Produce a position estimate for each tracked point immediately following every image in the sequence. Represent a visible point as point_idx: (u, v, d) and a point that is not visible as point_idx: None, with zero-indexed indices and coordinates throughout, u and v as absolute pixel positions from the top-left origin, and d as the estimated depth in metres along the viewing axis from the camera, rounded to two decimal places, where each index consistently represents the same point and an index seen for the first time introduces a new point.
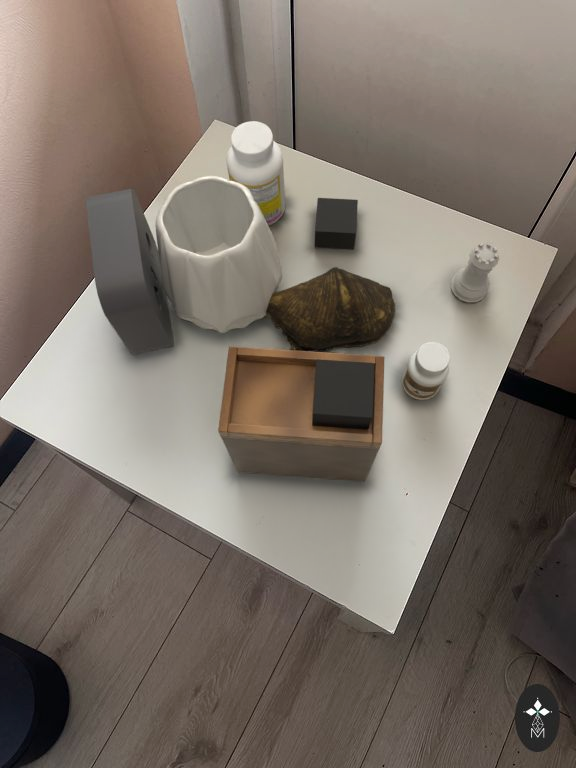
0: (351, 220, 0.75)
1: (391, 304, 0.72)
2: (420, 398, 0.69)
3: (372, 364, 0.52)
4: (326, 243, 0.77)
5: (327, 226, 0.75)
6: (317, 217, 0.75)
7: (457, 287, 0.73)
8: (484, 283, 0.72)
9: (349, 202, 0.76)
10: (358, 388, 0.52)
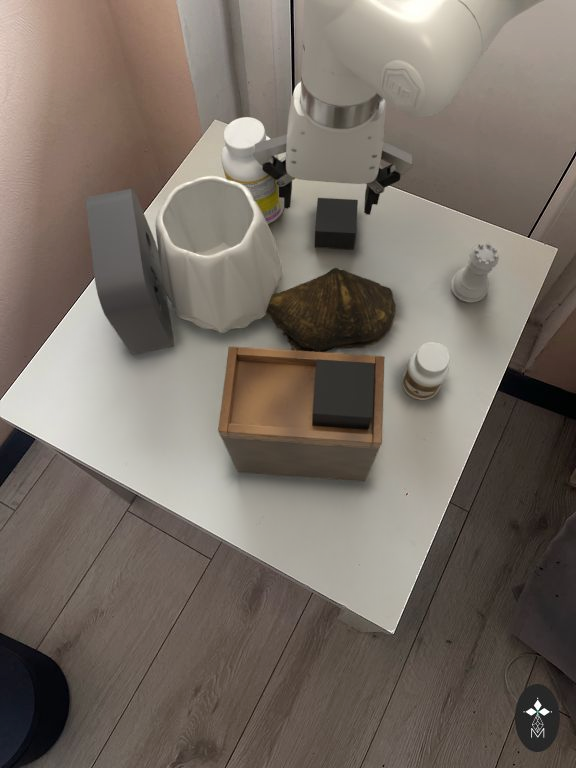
0: (351, 220, 0.75)
1: (392, 305, 0.72)
2: (420, 398, 0.69)
3: (372, 364, 0.52)
4: (326, 243, 0.77)
5: (327, 226, 0.75)
6: (317, 217, 0.75)
7: (457, 287, 0.73)
8: (484, 283, 0.72)
9: (349, 202, 0.76)
10: (358, 388, 0.52)
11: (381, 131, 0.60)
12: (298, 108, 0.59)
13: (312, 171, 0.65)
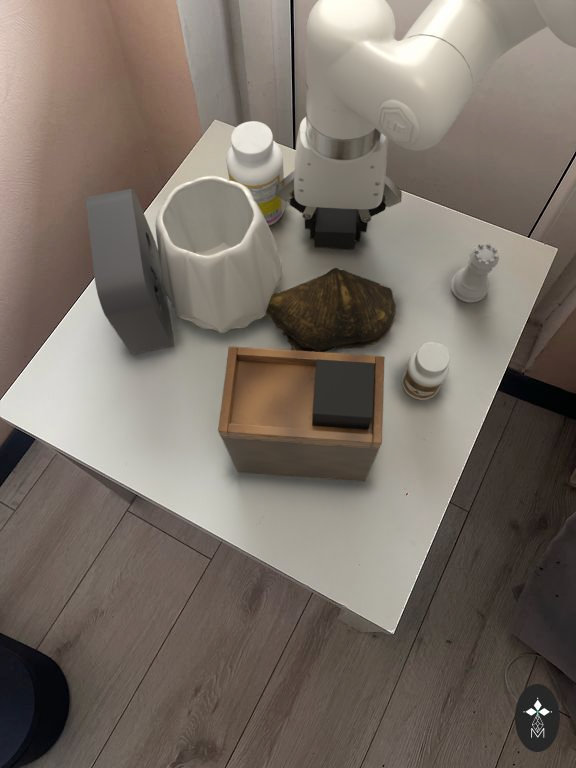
0: (351, 220, 0.75)
1: (392, 305, 0.72)
2: (420, 398, 0.69)
3: (372, 364, 0.52)
4: (326, 243, 0.77)
5: (327, 226, 0.75)
6: (317, 217, 0.75)
7: (457, 287, 0.73)
8: (484, 283, 0.72)
9: None
10: (358, 388, 0.52)
11: (383, 161, 0.63)
12: (304, 141, 0.62)
13: (319, 198, 0.69)
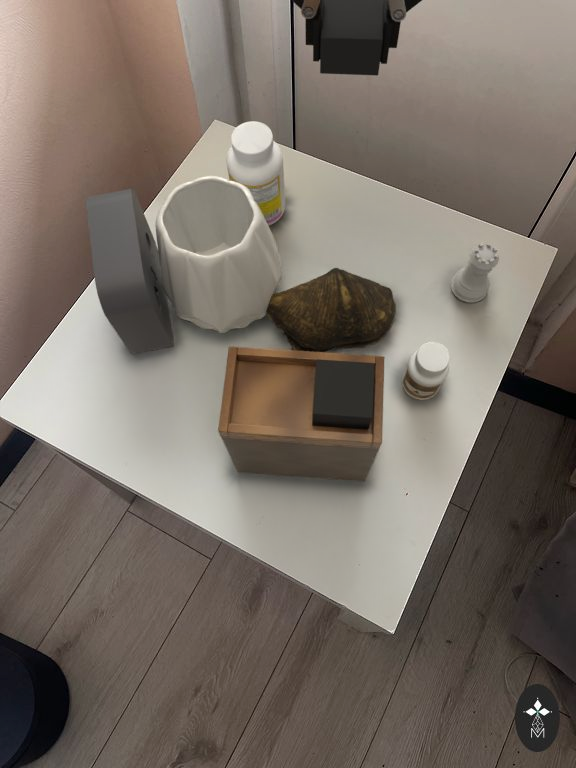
0: (375, 23, 0.50)
1: (392, 305, 0.72)
2: (420, 398, 0.69)
3: (372, 364, 0.52)
4: (336, 64, 0.52)
5: (339, 31, 0.50)
6: (324, 20, 0.50)
7: (457, 287, 0.73)
8: (484, 283, 0.72)
9: (372, 0, 0.51)
10: (358, 388, 0.52)
11: None
12: None
13: None
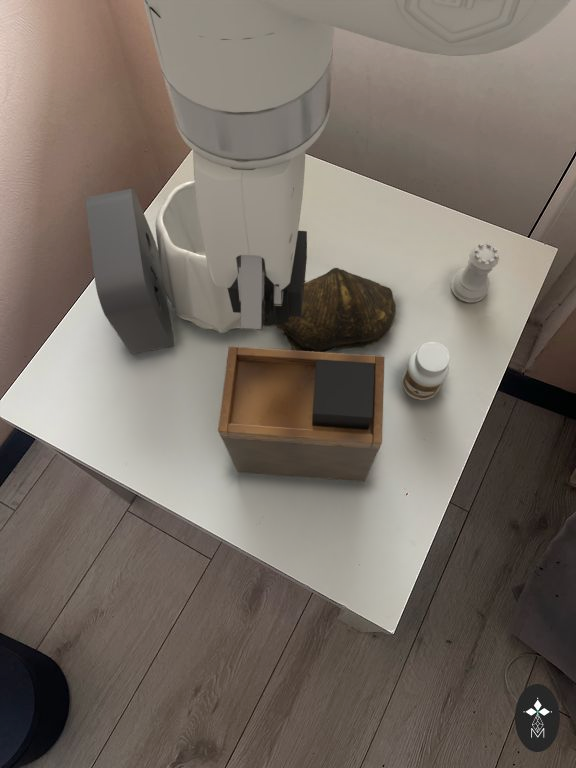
0: None
1: (392, 305, 0.72)
2: (420, 398, 0.69)
3: (372, 364, 0.52)
4: None
5: None
6: None
7: (457, 287, 0.73)
8: (484, 283, 0.72)
9: None
10: (358, 388, 0.52)
11: None
12: (268, 172, 0.28)
13: None
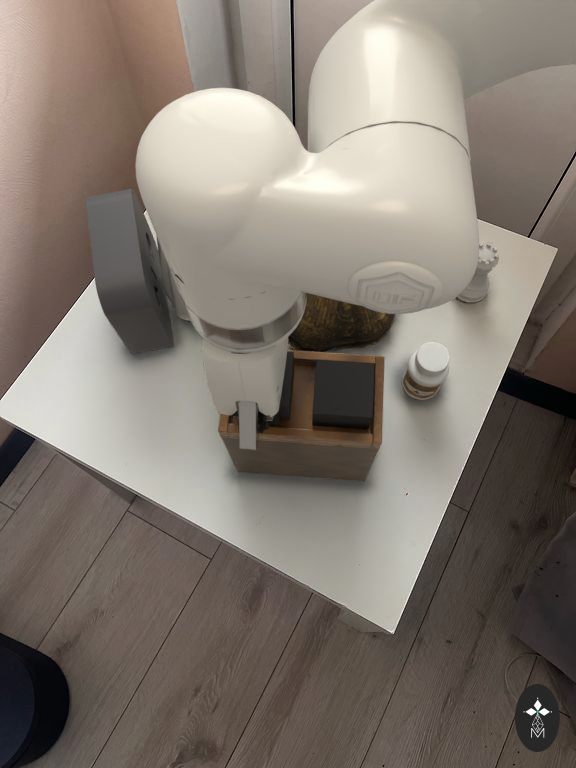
0: None
1: None
2: (420, 398, 0.69)
3: (372, 364, 0.52)
4: None
5: None
6: None
7: None
8: (484, 283, 0.72)
9: None
10: (358, 388, 0.52)
11: None
12: (259, 355, 0.37)
13: None
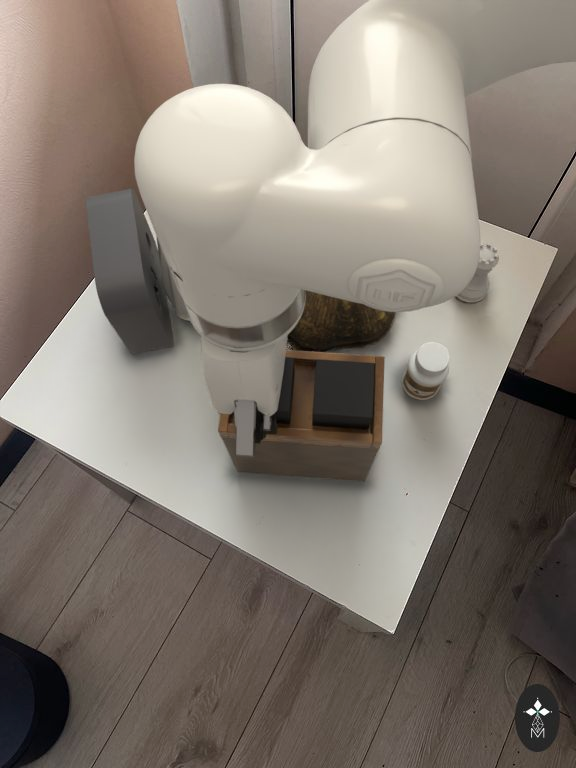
0: None
1: None
2: (420, 398, 0.69)
3: (372, 364, 0.52)
4: (291, 405, 0.54)
5: (281, 395, 0.52)
6: None
7: None
8: (484, 283, 0.72)
9: None
10: (358, 388, 0.52)
11: None
12: (258, 354, 0.37)
13: None
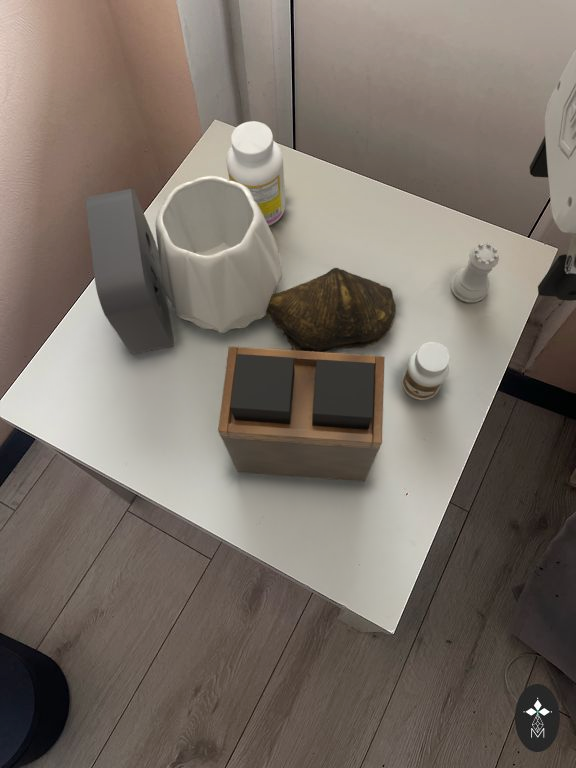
0: (272, 363, 0.53)
1: (392, 305, 0.72)
2: (420, 398, 0.69)
3: (372, 364, 0.52)
4: (291, 405, 0.54)
5: (281, 395, 0.52)
6: (265, 408, 0.51)
7: (457, 287, 0.73)
8: (484, 283, 0.72)
9: (241, 364, 0.53)
10: (358, 388, 0.52)
11: None
12: None
13: None
